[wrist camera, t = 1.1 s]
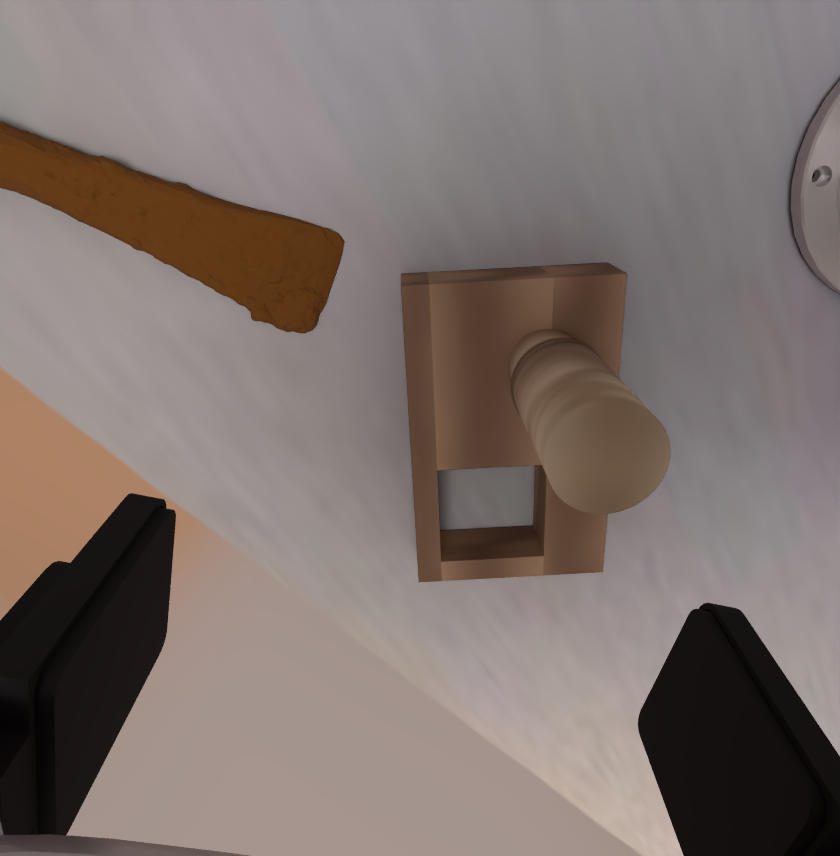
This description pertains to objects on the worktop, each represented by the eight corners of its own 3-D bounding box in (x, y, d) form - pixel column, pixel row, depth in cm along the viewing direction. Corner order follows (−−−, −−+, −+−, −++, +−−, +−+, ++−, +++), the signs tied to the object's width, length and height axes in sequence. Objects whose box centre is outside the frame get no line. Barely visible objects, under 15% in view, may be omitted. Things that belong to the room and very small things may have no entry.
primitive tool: (348, 235, 31) (342, 246, 27) (314, 338, 33) (303, 360, 29) (-76, 65, 27) (-140, 55, 24) (-85, 192, 29) (-146, 198, 26)
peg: (591, 318, 29) (678, 398, 20) (586, 402, 31) (664, 511, 22) (501, 323, 29) (547, 405, 20) (501, 407, 31) (543, 518, 21)
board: (607, 262, 31) (627, 273, 28) (588, 540, 37) (602, 571, 35) (401, 273, 31) (400, 285, 28) (417, 550, 37) (418, 582, 35)
